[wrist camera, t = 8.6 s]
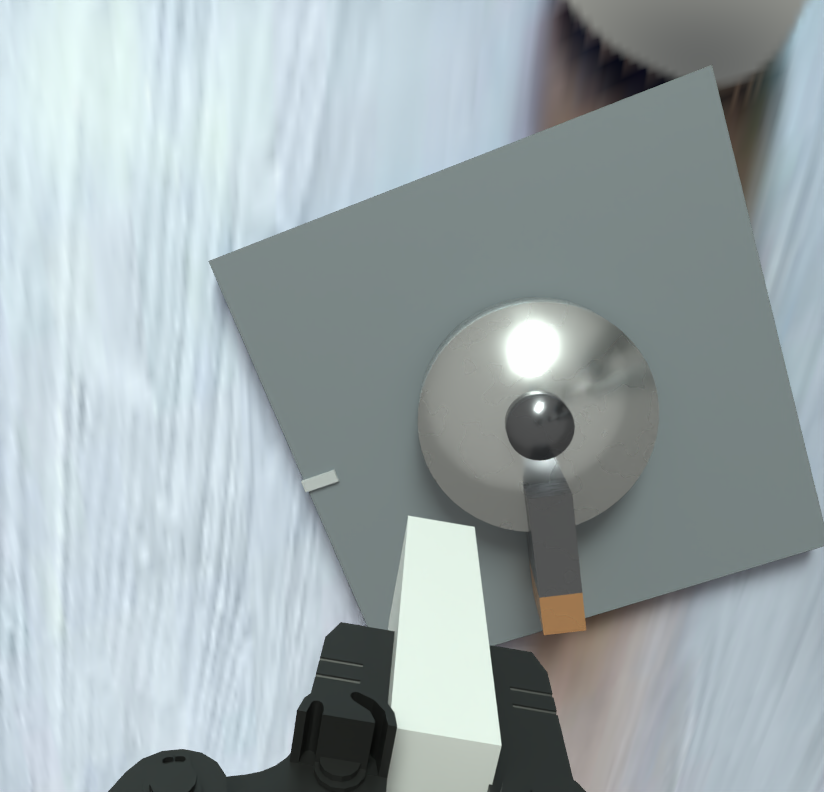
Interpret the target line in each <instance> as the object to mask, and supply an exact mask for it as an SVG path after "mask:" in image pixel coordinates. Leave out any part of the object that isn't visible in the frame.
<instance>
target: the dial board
mask: <svg viewBox="0 0 824 792" xmlns="http://www.w3.org/2000/svg"><path fill="white" fill-rule="evenodd" d="M209 263H210V266H211V268H212V270H213V273H214V275H215V277H216V280H217V282H218V284H219V286H220V289H221V291H222V293H223V296H224V298H225V300H226V303H227V305H228V307H229V309H230V312H231V314H232V316H233V319H234V321H235V323H236V325H237V328H238V330H239V332H240V335H241V337H242V339H243V342H244V344H245V346H246V348H247V351H248V353H249V355H250V358H251V360H252V362H253V365H254V367H255V369H256V371H257V374H258V376H259V378H260V381H261V383H262V385H263V387H264V390H265V392H266V394H267V397H268V399H269V401H270V404H271V406H272V408H273V410H274V413H275V415H276V417H277V420H278V422H279V424H280V427H281V429H282V431H283V433H284V436H285V438H286V440H287V443H288V445H289V447H290V449H291V452H292V454H293V456H294V459H295V461H296V463H297V466H298V468H299V470H300V472H301V475H302V477H303V479H304V480H302V482H301V483H302V485H303V487H304V490H305V492H309V493H310V495H311V498H312V500H313V502H314V505H315V507H316V509H317V512H318V514H319V516H320V518H321V521H322V523H323V525H324V528H325V530H326V532H327V534H328V537H329V539H330V541H331V544H332V546H333V548H334V551H335V553H336V555H337V557H338V560H339V562H340V564H341V567H342V569H343V571H344V574H345V576H346V578H347V580H348V583H349V585H350V587H351V590H352V592H353V594H354V596H355V599H356V601H357V603H358V606H359V608H360V610H361V613H362V615H363V617H364V619H365V622H366V624H367V626H368V627H372V628H378V629H384V630H388V625H389V618H390V613H391V608H392V602H393V597H394V591H395V586H396V580H397V575H398V569H399V564H400V558H401V553H402V547H403V542H404V536H405V531H406V525H407V520H408V516H413V517H419V518H425V519H431V520H437V521H443V522H449V523H454V524H460V525H466V526H472V527H475V534H476V543H477V551H478V559H479V567H480V575H481V583H482V591H483V599H484V607H485V615H486V623H487V631H488V639H489V645H491V646H494V645H497V644H501V643H504V642H507V641H511V640H514V639H517V638H521V637H524V636H527V635H530V634H534V633H537V632H540V631H543V630H542V626H541V622H540V618H539V614H538V611H537V607H536V603H535V599H534V595H533V587H532V579H531V571H530V562H529V554H528V546H527V538H526V532H523V531H515V530H509V529H504V528H501V527H498V526H494V525H491V524H489V523H487V522H484V521H482V520H480V519H478V518H476V517H474V516H473V515H471V514H469V513H468V512H466V511H464V510H463V509H462V508H461V507H459V506H458V505H457V504H456V503H454V502H453V501H452V500H451V499H450V498H449V497H448V496H447V495H446V494H445V492H444V491H443V490H442V489H441V487H440V486H439V485H438V483H437V482H436V481H435V479H434V478H433V476H432V474H431V472H430V470H429V468H428V466H427V464H426V461H425V459H424V456H423V453H422V449H421V445H420V441H419V433H418V407H419V396H420V391H421V386H422V381H423V378H424V375H425V372H426V369H427V367H428V365H429V363H430V361H431V359H432V357H433V355H434V354H435V352H436V351H437V349H438V348H439V346H440V345H441V343H442V342H443V341H444V340H445V339H446V337H447V336H448V335H449V334H450V333H451V332H452V331H453V330H454V329H455V328H456V327H457V326H459V325H460V324H461V323H462V322H463V321H465V320H466V319H468V318H469V317H471V316H472V315H474V314H475V313H477V312H479V311H481V310H483V309H485V308H487V307H489V306H492V305H494V304H497V303H500V302H503V301H507V300H512V299H516V298H524V297H550V298H556V299H561V300H566V301H569V302H572V303H575V304H578V305H581V306H583V307H585V308H587V309H589V310H591V311H593V312H595V313H596V314H598V315H600V316H601V317H603V318H604V319H606V320H607V321H609V322H610V323H612V324H613V325H615V326H616V327H617V328H619V329H620V330H621V331H622V332H623V333H624V334H625V335H626V336H628V337H629V339H630V340H631V341H632V342H633V343H634V344H635V346H636V347H637V348H638V349H639V351H640V352H641V354H642V356H643V357H644V359H645V360H646V362H647V364H648V366H649V369H650V371H651V373H652V375H653V378H654V382H655V385H656V389H657V394H658V402H659V424H658V432H657V437H656V441H655V444H654V448H653V451H652V453H651V456H650V458H649V460H648V463H647V465H646V466H645V468H644V470H643V471H642V473H641V475H640V477H639V478H638V479H637V481H636V482H635V483H634V484H633V486H632V487H631V488H630V490H629V491H628V492H627V493H626V494H625V495H623V496H622V497H621V498H620V499H619V500H618V501H617V502H616V503H615V504H613V505H612V506H611V507H609V508H608V509H607V510H605V511H604V512H602V513H600V514H599V515H597V516H595V517H594V518H591V519H589V520H587V521H585V522H582V523H580V524H577V525H576V535H577V544H578V554H579V564H580V574H581V583H582V593H583V603H584V613H585V618H587V617H590V616H594V615H597V614H600V613H604V612H607V611H610V610H614V609H617V608H620V607H624V606H627V605H630V604H634V603H637V602H640V601H644V600H647V599H650V598H653V597H657V596H660V595H663V594H667V593H670V592H673V591H677V590H680V589H683V588H687V587H690V586H693V585H697V584H700V583H703V582H707V581H710V580H713V579H717V578H720V577H723V576H727V575H730V574H733V573H737V572H740V571H743V570H747V569H750V568H753V567H757V566H760V565H763V564H767V563H770V562H773V561H776V560H780V559H783V558H786V557H790V556H793V555H796V554H800V553H803V552H806V551H810V550H813V549H816V548H820V547H823V546H824V522H823V518H822V513H821V509H820V505H819V501H818V497H817V493H816V489H815V485H814V481H813V477H812V473H811V469H810V464H809V460H808V456H807V452H806V448H805V444H804V440H803V436H802V432H801V428H800V424H799V419H798V415H797V411H796V407H795V403H794V399H793V395H792V391H791V387H790V383H789V379H788V375H787V370H786V366H785V362H784V358H783V354H782V350H781V346H780V342H779V338H778V334H777V330H776V325H775V321H774V317H773V313H772V309H771V305H770V301H769V297H768V293H767V289H766V285H765V281H764V276H763V272H762V268H761V264H760V260H759V256H758V252H757V248H756V244H755V240H754V236H753V231H752V227H751V223H750V219H749V215H748V211H747V207H746V203H745V199H744V195H743V191H742V186H741V182H740V178H739V174H738V170H737V166H736V162H735V158H734V154H733V150H732V146H731V142H730V137H729V133H728V129H727V125H726V121H725V117H724V113H723V109H722V105H721V101H720V97H719V92H718V88H717V84H716V80H715V76H714V72H713V69H712V65H711V66H708V67H706V68H703V69H700V70H698V71H695V72H693V73H690V74H687V75H685V76H682V77H680V78H677V79H675V80H672V81H669V82H667V83H664V84H662V85H659V86H657V87H654V88H651V89H649V90H646V91H644V92H641V93H639V94H636V95H634V96H631V97H628V98H626V99H623V100H621V101H618V102H616V103H613V104H610V105H608V106H605V107H603V108H600V109H598V110H595V111H592V112H590V113H587V114H585V115H582V116H580V117H577V118H575V119H572V120H569V121H567V122H564V123H562V124H559V125H557V126H554V127H551V128H549V129H546V130H544V131H541V132H539V133H536V134H533V135H531V136H528V137H526V138H523V139H521V140H518V141H516V142H513V143H510V144H508V145H505V146H503V147H500V148H498V149H495V150H492V151H490V152H487V153H485V154H482V155H480V156H477V157H474V158H472V159H469V160H467V161H464V162H462V163H459V164H457V165H454V166H451V167H449V168H446V169H444V170H441V171H439V172H436V173H433V174H431V175H428V176H426V177H423V178H421V179H418V180H415V181H413V182H410V183H408V184H405V185H403V186H400V187H398V188H395V189H392V190H390V191H387V192H385V193H382V194H380V195H377V196H374V197H372V198H369V199H367V200H364V201H362V202H359V203H356V204H354V205H351V206H349V207H346V208H344V209H341V210H339V211H336V212H333V213H331V214H328V215H326V216H323V217H321V218H318V219H315V220H313V221H310V222H308V223H305V224H303V225H300V226H297V227H295V228H292V229H290V230H287V231H285V232H282V233H280V234H277V235H274V236H272V237H269V238H267V239H264V240H262V241H259V242H256V243H254V244H251V245H249V246H246V247H244V248H241V249H238V250H236V251H233V252H231V253H228V254H226V255H223V256H221V257H218V258H215V259H213V260H210V261H209Z"/></svg>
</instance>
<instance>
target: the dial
mask: <svg viewBox="0 0 824 792" xmlns="http://www.w3.org/2000/svg"><path fill="white" fill-rule="evenodd" d="M658 424H659V402H658V394H657V389H656V385H655V382H654V378H653V375H652V373H651V371H650V369H649V366H648V364H647V362H646V360H645V359H644V357H643V356H642V354H641V352H640V351H639V349H638V348H637V347H636V346H635V344H634V343H633V342H632V341H631V340H630V339H629V337H628V336H626V335H625V334H624V333H623V332H622V331H621V330H620V329H619V328H617V327H616V326H615V325H613V324H612V323H610V322H609V321H607V320H606V319H604V318H603V317H601V316H600V315H598V314H596V313H595V312H593V311H591V310H589V309H587V308H585V307H583V306H581V305H578V304H575V303H572V302H569V301H566V300H561V299H556V298H550V297H524V298H516V299H512V300H507V301H503V302H500V303H497V304H494V305H492V306H489V307H487V308H485V309H483V310H481V311H479V312H477V313H475V314H474V315H472V316H471V317H469V318H468V319H466V320H465V321H463V322H462V323H461V324H460V325H459V326H457V327H456V328H455V329H454V330H453V331H452V332H451V333H450V334H449V335H448V336H447V337H446V339H445V340H444V341H443V342H442V343H441V345H440V346H439V348H438V349H437V351H436V352H435V354H434V355H433V357H432V359H431V361H430V363H429V365H428V367H427V369H426V372H425V375H424V378H423V381H422V386H421V391H420V396H419V407H418V433H419V441H420V445H421V449H422V453H423V456H424V459H425V461H426V464H427V466H428V468H429V470H430V472H431V474H432V476H433V478H434V479H435V481H436V482H437V483H438V485H439V486H440V487H441V489H442V490H443V491H444V492H445V494H446V495H447V496H448V497H449V498H450V499H451V500H452V501H453V502H454V503H456V504H457V505H458V506H459V507H461V508H462V509H463V510H464V511H466V512H468V513H469V514H471V515H473V516H474V517H476V518H478V519H480V520H482V521H484V522H487V523H489V524H491V525H494V526H498V527H501V528H504V529H509V530H515V531H523V532H526V538H527V546H528V554H529V562H530V571H531V579H532V587H533V595H534V599H535V603H536V607H537V611H538V614H539V618H540V622H541V626H542V630H543V634H544V635H550V634H559V633H568V632H576V631H585V630H586V622H585V613H584V603H583V593H582V583H581V574H580V564H579V554H578V544H577V535H576V525H577V524H580V523H582V522H585V521H587V520H589V519H591V518H594V517H595V516H597V515H599V514H600V513H602V512H604V511H605V510H607V509H608V508H609V507H611V506H612V505H613V504H615V503H616V502H617V501H618V500H619V499H620V498H621V497H622V496H623V495H625V494H626V493H627V492H628V491H629V490H630V488H631V487H632V486H633V484H634V483H635V482H636V481H637V479H638V478H639V477H640V475H641V473H642V471H643V470H644V468H645V466H646V465H647V463H648V460H649V458H650V456H651V453H652V451H653V448H654V444H655V441H656V437H657V432H658Z"/></svg>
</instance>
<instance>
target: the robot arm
mask: <svg viewBox="0 0 824 792" xmlns="http://www.w3.org/2000/svg"><path fill="white" fill-rule="evenodd" d="M108 792H586V791H585V790H584V789H583V788H582V787H581V786H580V785H579V784H578V783H577V782H576V781H574V780H573V777H572V773H571V768H570V764H569V760H568V756H567V752H566V748H565V744H564V740H563V735H562V731H561V727H560V723H559V719H558V715H556V707H555V702H554V698H553V697H552V690H551V686H550V682H549V678H548V674H547V671H546V670H545V669H544V668H543V666H542V665H541V664H540V662H539V661H538V660H537V659H536V657H535V656H534V655H533V653H532V652H527V651H521V650H515V649H509V648H503V647H497V646H491V645H489V639H488V631H487V623H486V615H485V607H484V599H483V591H482V583H481V575H480V567H479V559H478V551H477V543H476V534H475V527H472V526H466V525H460V524H454V523H449V522H443V521H437V520H431V519H425V518H419V517H413V516H408V520H407V525H406V531H405V536H404V542H403V547H402V553H401V558H400V564H399V569H398V575H397V580H396V586H395V591H394V597H393V602H392V608H391V613H390V618H389V625H388V630H384V629H378V628H372V627H366V626H360V625H354V624H348V623H342V622H341V623H340V624H339V625H338V626H337V627H336V628H335V629H334V630H332V631H331V632H330V633H329V634H328V635H327V636H326V637H325V641H324V645H323V649H322V653H321V656H320V661H319V664H318V668H317V672H316V677H315V680H314V684H313V687H312V691H311V694H309V695H308V696H306V697H305V698H304V699H303V701H302V703H301V705H300V706H299V708H298V710H297V715H296V722H295V729H294V735H293V742H292V749H291V753H290V755H289V756H288V757H287V758H286V759H284V760H283V761H281V762H280V763H279V764H277V765H276V766H273V767H271V768H269V769H266V770H264V771H261V772H257V773H252V774H247V775H238V776H229V777H226V775H225V774H224V772H223V771H222V769H221V768H220V766H219V765H218V763H217V762H216V761H214V760H213V759H211V758H209V757H208V756H206V755H204V754H203V753H200V752H195V751H190V750H185V749H179V750H169V751H161V752H159V753H156V754H154V755H151V756H149V757H146V758H143V759H142V760H140V761H139V762H138V763H137V764H135V765H134V766H133V767H132V768H130V769H129V770H128V771H126V773H125V774H124V775H123V776H122V777H121V778H120V779H119V780H118V781H117V782H116V784H115V785H114V786H113V787H112V788H111V789H110V790H109V791H108Z"/></svg>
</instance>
